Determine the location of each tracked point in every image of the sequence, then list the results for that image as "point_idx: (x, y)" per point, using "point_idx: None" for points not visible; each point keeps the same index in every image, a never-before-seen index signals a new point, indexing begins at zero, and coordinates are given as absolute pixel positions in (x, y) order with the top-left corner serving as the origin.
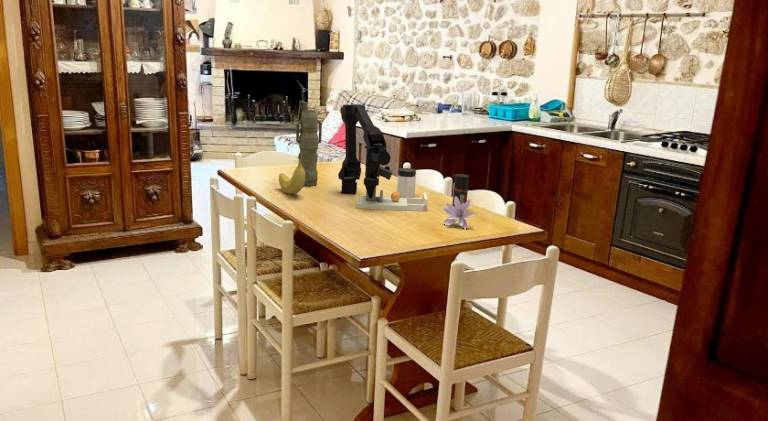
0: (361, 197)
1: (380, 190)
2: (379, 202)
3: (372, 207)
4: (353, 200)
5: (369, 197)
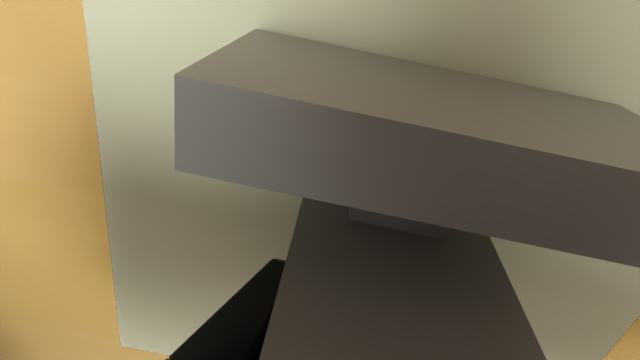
0: None
1: (254, 179)
2: None
3: None
4: None
5: None
